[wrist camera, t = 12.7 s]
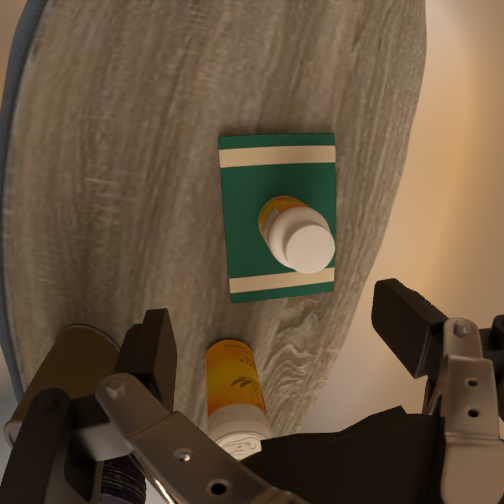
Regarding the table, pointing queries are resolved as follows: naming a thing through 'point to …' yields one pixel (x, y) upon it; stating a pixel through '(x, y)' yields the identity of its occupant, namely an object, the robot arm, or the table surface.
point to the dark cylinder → (122, 482)
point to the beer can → (234, 399)
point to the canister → (69, 369)
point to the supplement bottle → (296, 234)
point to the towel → (263, 190)
